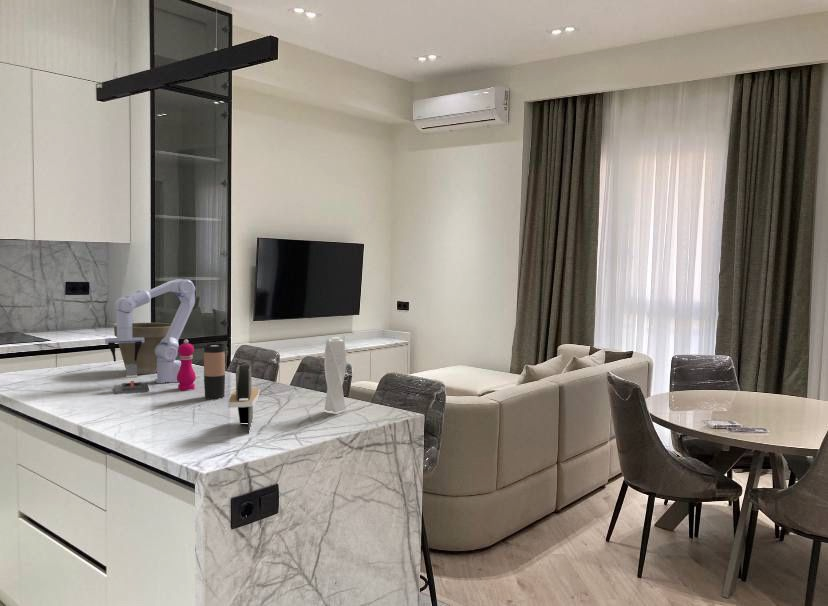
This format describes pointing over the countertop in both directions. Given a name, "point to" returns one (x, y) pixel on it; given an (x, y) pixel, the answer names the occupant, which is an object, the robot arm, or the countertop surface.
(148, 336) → the plant pot
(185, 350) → the pepper mill
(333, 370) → the skyscraper
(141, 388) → the stand base
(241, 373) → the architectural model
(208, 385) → the travel mug
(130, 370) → the brushed metal block
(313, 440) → the countertop surface
